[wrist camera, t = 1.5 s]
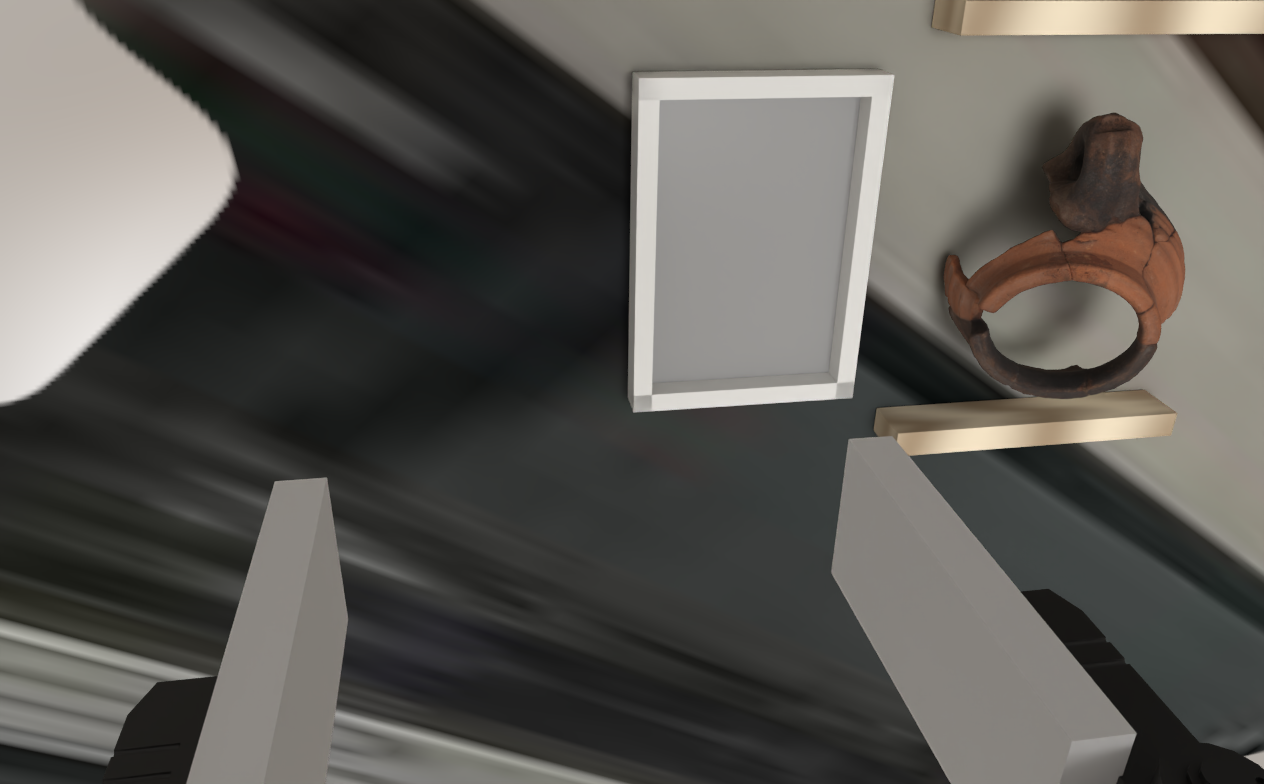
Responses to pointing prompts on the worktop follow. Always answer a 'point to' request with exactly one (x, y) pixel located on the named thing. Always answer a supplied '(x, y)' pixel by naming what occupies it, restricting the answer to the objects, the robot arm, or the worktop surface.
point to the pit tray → (751, 233)
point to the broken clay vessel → (1082, 260)
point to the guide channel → (1041, 8)
